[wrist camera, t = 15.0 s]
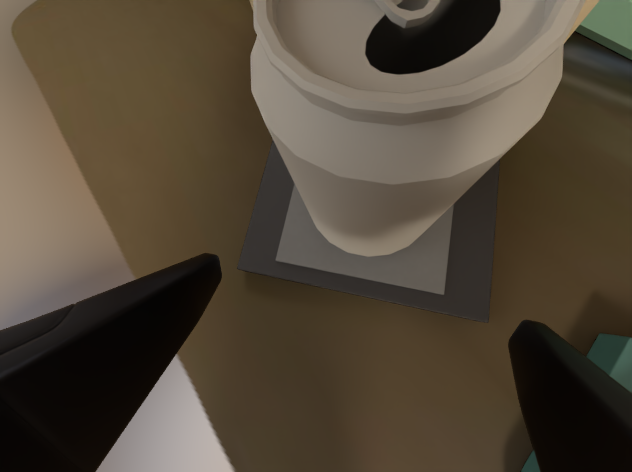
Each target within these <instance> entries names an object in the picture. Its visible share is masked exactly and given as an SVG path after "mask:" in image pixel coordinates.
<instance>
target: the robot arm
mask: <svg viewBox="0 0 632 472" xmlns="http://www.w3.org/2000/svg"><path fill="white" fill-rule="evenodd" d="M221 278H222V273H221V267H220V261H219V257H218V256H217V255H214V254H209V253H204V254H201V255H199V256H196V257H193V258H191V259H188V260H186V261H183V262H180V263H178V264H175V265H173V266H170V267H167V268H165V269H162V270H160V271H157V272H154V273H152V274H149V275H147V276H144V277H141V278H139V279H136V280H134V281H131V282H129V283H126V284H123V285H121V286H118V287H116V288H113V289H111V290H108V291H105V292H103V293H100V294H97V295H95V296H92V297H90V298H87V299H84V300H82V301H79V302H77V303H76V304H71V305H69V306H66V307H64V308H61V309H58V310H56V311H53V312H51V313H48V314H45V315H42V316H40V317H37V318H34V319H32V320H29V321H26V322H24V323H20V324H18V325H15V326H12V327H9V328H6V329H3V330H0V472H96V470H97V468H98V467H99V466H100V464H101V463H102V461H103V460H104V458H105V457H106V456H107V454H108V453H109V451H110V450H111V448H112V447H113V445H114V444H115V442H116V441H117V439H118V438H119V437H120V435H121V434H122V432H123V431H124V429H125V428H126V426H127V425H128V423H129V422H130V421H131V419H132V417H133V416H134V415H135V413H136V412H137V410H138V409H139V407H140V406H141V404H142V403H143V402H144V400H145V399H146V397H147V396H148V394H149V393H150V391H151V390H152V389H153V387H154V385H155V384H156V383H157V381H158V380H159V378H160V377H161V375H162V374H163V372H164V371H165V370H166V368H167V367H168V365H169V364H170V362H171V361H172V359H173V358H174V356H175V355H176V354H177V352H178V351H179V349H180V348H181V346H182V345H183V343H184V342H185V340H186V339H187V338H188V336H189V335H190V333H191V332H192V330H193V329H194V327H195V326H196V324H197V323H198V321H199V320H200V318H201V316H202V314H203V313H204V311H205V309H206V307H207V305H208V303H209V302H210V300H211V298H212V296H213V294H214V292H215V291H216V289H217V287H218V285H219V283H220V281H221ZM508 348H509V353H510V358H511V364H512V369H513V374H514V379H515V384H516V389H517V394H518V399H519V403H520V407H521V411H522V414H523V417H524V421H525V424H526V427H527V430H528V434H529V437H530V440H531V443H532V447H533V450H534V453H535V456H536V460H537V463H538V466H539V469H540V472H632V393H631V392H630V391H629V390H627V389H626V388H625V387H624V386H622V385H621V384H620V383H618V382H617V381H616V380H615V379H613V378H612V377H611V376H610V375H608V374H607V373H606V372H605V371H603V370H602V369H601V368H599V367H598V366H597V365H596V364H594V363H593V362H592V361H591V360H589V359H588V358H587V357H586V356H584V355H583V354H582V353H580V352H579V351H578V350H577V349H575V348H574V347H573V346H572V345H570V344H569V343H568V342H567V341H565V340H564V339H563V338H561V337H560V336H559V335H558V334H556V333H555V332H554V331H553V330H551V329H550V328H549V327H548V326H546V325H545V324H543V323H540V322H536V321H531V320H524V321H522V322H521V323H520V324H519V326H518V327H517V329H516V330H515V332H514V333H513V334H512V336H511V337H510V339H509V343H508Z"/></svg>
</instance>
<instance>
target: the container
mask: <svg viewBox="0 0 632 472" xmlns="http://www.w3.org/2000/svg"><path fill="white" fill-rule="evenodd" d="M575 31H576V32H578V33H580V34H582V35H584V36H586V37H588V38H590V39H592V40H594V41H596V42H598V43H599V44H601V45H603V46H605V47H607V48H609V49H611V50H613V51H615V52H617V53H619V54H621V55H623V56H625V57H627V58H629V59H631V60H632V0H599V2H598V3H597V4H596V5H595V7H594V8H593V9H592V10H591V11H590V13H589V14H588V15H587V16H586V17H585V19H584V20H583V21H582V22H581V24H580V25H579V26H578V27H577V28H576V30H575Z"/></svg>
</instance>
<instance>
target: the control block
mask: <svg viewBox="0 0 632 472" xmlns="http://www.w3.org/2000/svg"><path fill="white" fill-rule="evenodd" d="M586 357H587V358H588V359H589V360H591V361H592V362H593V363H594V364H596V365H597V366H598V367H599V368H601V369H602V370H603V371H605V372H606V373H607V374H608V375H610V376H611V377H612V378H613V379H615V380H616V381H617V382H618V383H620V384H621V385H622V386H624V387H625V388H626V389H627V390H629V391H630V392H631V393H632V338H631V337H625V336H617V335H610V334H602V333H600V334H599V335H598V337H597V338H596V340H595V342H594V344H593V346H592V347H591V349H590V351H589V353H588V354H587V356H586ZM521 472H540V469H539V466H538V463H537V460H536V456H535V453H534V450H533V451H532V453H531V454H530V456H529V458H528V460H527V461H526V463H525V465H524V467H523V468H522V470H521Z"/></svg>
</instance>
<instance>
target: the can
mask: <svg viewBox="0 0 632 472" xmlns="http://www.w3.org/2000/svg"><path fill="white" fill-rule="evenodd" d="M585 1H586V0H253V11H254V29H255V32H256V34H257V38H256V41H255V44H254V47H253V50H252V53H251V91H252V94H253V96H254V98H255V101H256V103H257V105H258V108H259V110H260V112H261V115H262V117H263V119H264V122H265V124H266V126H267V128H268V130H269V132H270V134H271V136H272V138H273V140H274V142H275V144H276V146H277V148H278V151H279V153H280V155H281V157H282V159H283V161H284V163H285V165H286V167H287V169H288V171H289V173H290V175H291V177H292V179H293V181H294V183H295V185H296V187H297V189H298V191H299V193H300V195H301V197H302V199H303V201H304V203H305V205H306V207H307V210H308V212H309V214H310V216H311V218H312V220H313V222H314V224H315V226H316V228H317V229H318V230H319V231H320V232H321V234H322V235H323V236H324V237H325V238H326V239H327V240H328V241H329V242H330V243H331V244H333V245H335V246H337V247H338V248H340V249H342V250H344V251H346V252H347V253H352V254H357V255H362V256H367V257H371V256H381V255H390V254H392V253H394V252H396V251H399V250H401V249H403V248H406V247H408V246H409V245H410V244H412V243H413V242H414V241H415V240H416V239H417V238H418V237H419V236H420V235H422V234H423V233H424V232H425V231H426V230H427V229H428V228H429V227H430V226H431V225H432V224H433V223H434V222H435V221H436V220H437V219H438V218H439V217H440V216H441V215H442V214H443V213H444V212H445V211H447V210H448V209H449V208H450V207H451V206H452V205H453V204H454V203H455V202H456V201H457V200H458V199H459V198H460V197H461V196H462V195H463V194H464V193H465V192H466V191H467V190H468V189H469V188H470V187H471V186H472V185H473V184H474V183H475V182H476V181H477V180H478V179H480V178H481V177H482V176H483V175H484V174H485V173H486V172H487V171H488V170H489V169H490V168H491V167H492V166H493V165H494V164H495V163H496V162H497V161H498V160H499V159H500V158H501V157H502V156H503V155H504V154H505V153H506V152H507V151H508V150H509V149H510V148H512V147H513V146H514V145H515V144H516V143H517V142H518V141H519V140H520V139H521V138H522V137H523V136H524V135H525V134H526V133H527V132H528V131H529V130H530V129H531V128H532V127H533V126H534V125H535V124H536V123H537V122H538V121H539V120H540V119H541V118H542V116H543V114H544V112H545V110H546V108H547V106H548V104H549V102H550V100H551V98H552V96H553V94H554V92H555V90H556V88H557V86H558V84H559V82H560V80H561V78H562V70H563V45H564V42H565V40H566V38H567V36H568V34H569V32H570V30H571V28H572V26H573V24H574V23H575V21H576V19H577V17H578V15H579V13H580V11H581V9H582V7H583V5H584V3H585Z"/></svg>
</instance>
